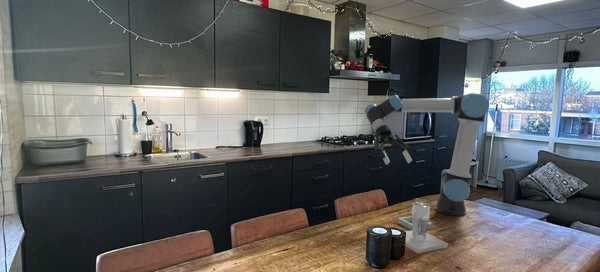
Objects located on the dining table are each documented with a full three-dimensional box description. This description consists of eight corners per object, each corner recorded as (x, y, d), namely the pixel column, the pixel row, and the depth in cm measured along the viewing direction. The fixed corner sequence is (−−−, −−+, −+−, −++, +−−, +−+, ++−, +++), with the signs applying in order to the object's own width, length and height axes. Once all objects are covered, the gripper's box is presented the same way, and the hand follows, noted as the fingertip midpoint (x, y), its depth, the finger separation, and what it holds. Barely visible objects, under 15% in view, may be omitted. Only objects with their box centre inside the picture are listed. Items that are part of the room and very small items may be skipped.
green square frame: (415, 220, 160) (415, 215, 160) (432, 228, 150) (432, 223, 149) (397, 222, 155) (398, 218, 155) (414, 231, 145) (414, 226, 145)
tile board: (419, 232, 145) (419, 229, 144) (447, 247, 130) (448, 243, 130) (390, 237, 138) (391, 233, 138) (417, 253, 124) (418, 249, 124)
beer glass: (424, 243, 129) (427, 207, 128) (407, 238, 134) (410, 204, 132) (429, 238, 135) (432, 203, 133) (413, 233, 139) (415, 200, 138)
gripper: (396, 133, 174) (414, 165, 162) (358, 133, 164) (374, 168, 152) (404, 124, 169) (423, 156, 157) (364, 124, 159) (382, 159, 147)
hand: (399, 162), depth 155 cm, fingers open, 13 cm apart
